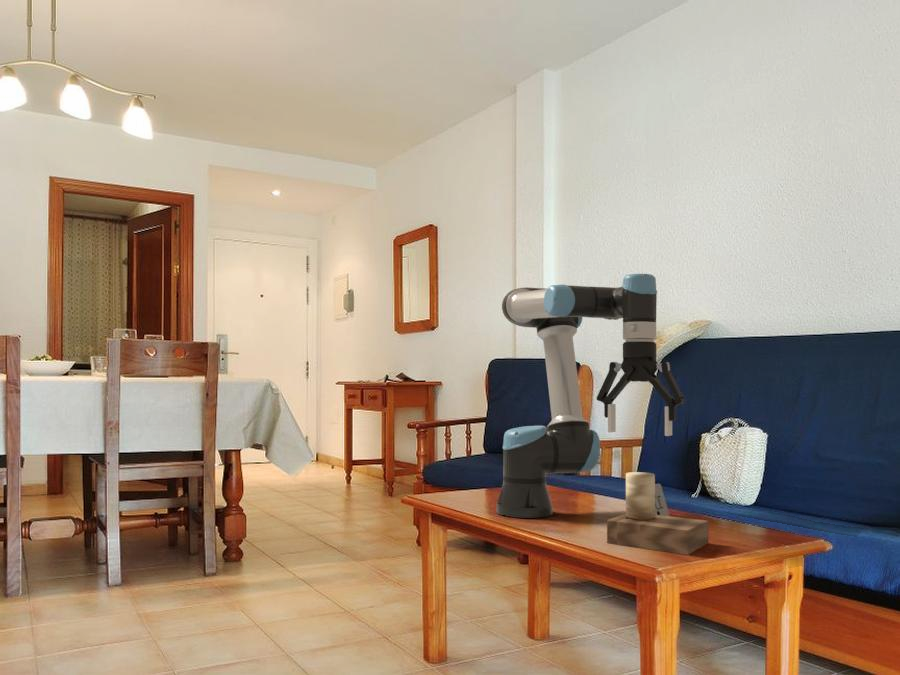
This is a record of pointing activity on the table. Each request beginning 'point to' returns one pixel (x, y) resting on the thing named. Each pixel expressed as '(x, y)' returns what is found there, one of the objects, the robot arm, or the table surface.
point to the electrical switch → (660, 501)
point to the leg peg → (640, 496)
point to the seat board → (659, 533)
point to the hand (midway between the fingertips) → (639, 433)
